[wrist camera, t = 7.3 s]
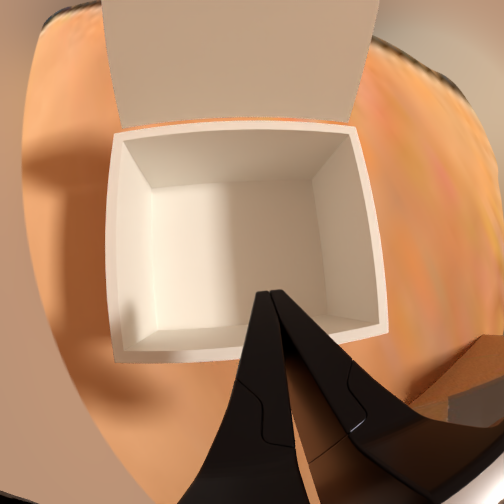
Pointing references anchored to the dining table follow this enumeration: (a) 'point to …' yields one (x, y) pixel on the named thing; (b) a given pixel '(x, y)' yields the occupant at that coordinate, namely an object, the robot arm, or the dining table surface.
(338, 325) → the carton
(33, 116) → the dining table surface
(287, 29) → the carton flap
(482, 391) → the sandwich container
